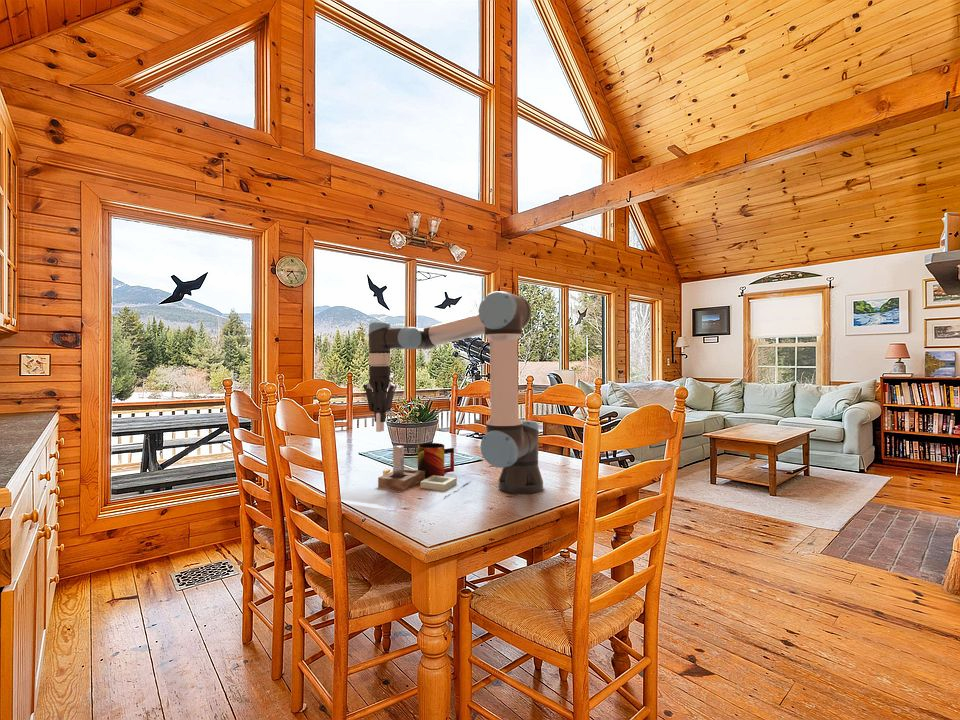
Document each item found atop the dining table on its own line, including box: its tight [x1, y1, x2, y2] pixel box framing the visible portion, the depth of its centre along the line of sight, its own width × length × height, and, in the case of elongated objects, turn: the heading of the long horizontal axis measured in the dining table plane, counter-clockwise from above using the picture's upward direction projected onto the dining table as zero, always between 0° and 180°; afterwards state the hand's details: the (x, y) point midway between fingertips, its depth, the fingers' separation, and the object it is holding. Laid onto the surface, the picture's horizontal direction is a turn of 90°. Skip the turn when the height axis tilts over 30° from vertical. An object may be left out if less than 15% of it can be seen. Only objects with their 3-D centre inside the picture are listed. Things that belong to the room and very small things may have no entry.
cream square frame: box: [419, 475, 458, 492], centre depth 163 cm, size 9×9×3 cm
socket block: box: [377, 468, 425, 491], centre depth 166 cm, size 10×14×4 cm
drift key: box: [382, 468, 391, 476], centre depth 172 cm, size 10×3×4 cm, turn 67°
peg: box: [392, 444, 405, 478], centre depth 164 cm, size 4×4×13 cm
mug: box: [417, 442, 455, 479], centre depth 178 cm, size 10×14×12 cm
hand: (380, 431), depth 174 cm, fingers closed
